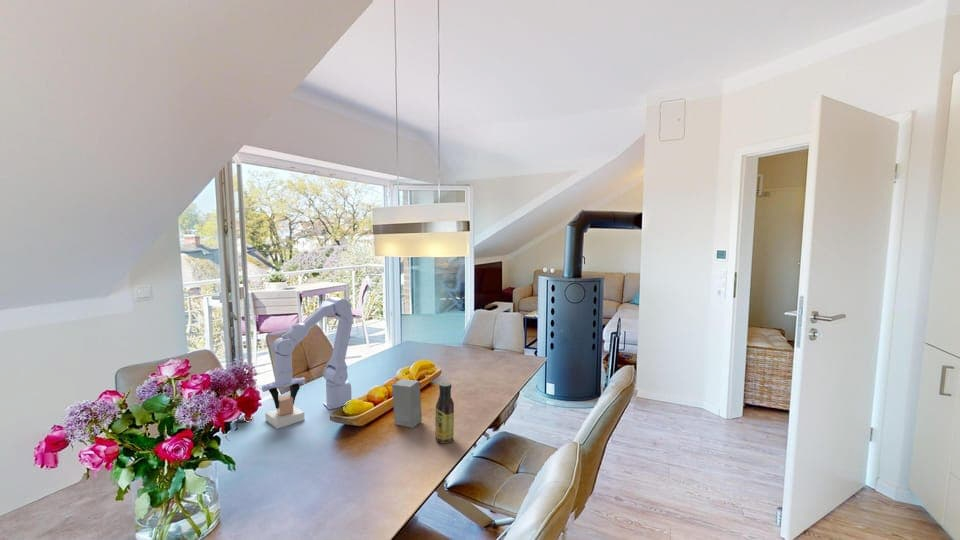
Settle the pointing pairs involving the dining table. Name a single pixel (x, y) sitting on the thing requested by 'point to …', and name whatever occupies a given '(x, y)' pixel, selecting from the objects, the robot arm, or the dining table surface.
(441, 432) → the sauce bottle
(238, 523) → the dining table surface
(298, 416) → the marble slab
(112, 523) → the dining table surface
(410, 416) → the skincare box
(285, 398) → the wooden block
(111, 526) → the dining table surface
